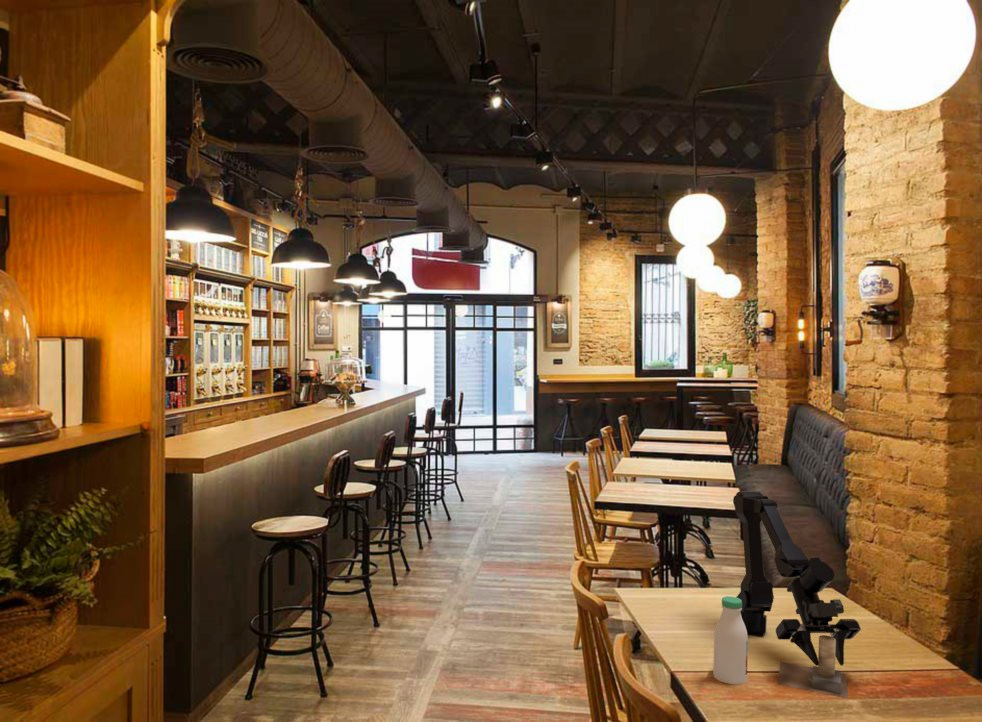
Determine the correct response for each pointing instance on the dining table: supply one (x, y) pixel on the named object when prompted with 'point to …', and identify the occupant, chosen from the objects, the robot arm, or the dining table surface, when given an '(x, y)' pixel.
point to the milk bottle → (730, 644)
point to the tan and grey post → (826, 667)
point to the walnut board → (805, 679)
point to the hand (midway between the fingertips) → (829, 664)
